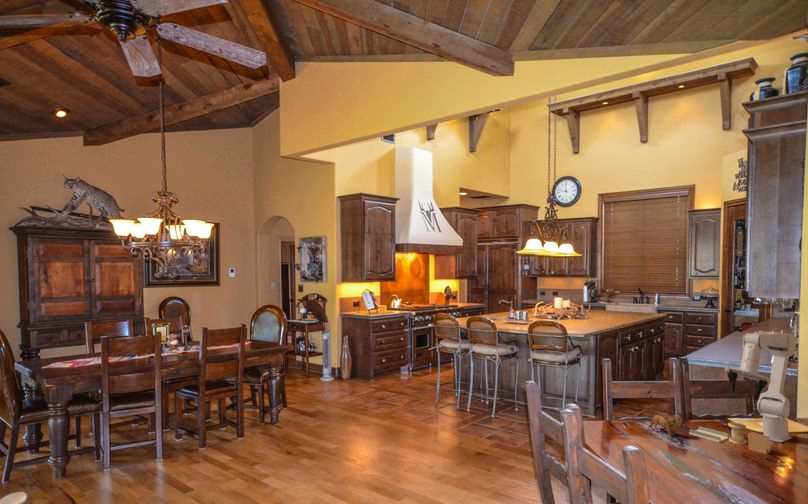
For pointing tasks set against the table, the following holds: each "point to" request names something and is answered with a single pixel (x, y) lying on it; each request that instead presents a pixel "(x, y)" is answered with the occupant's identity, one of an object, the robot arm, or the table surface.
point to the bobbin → (737, 433)
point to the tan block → (759, 442)
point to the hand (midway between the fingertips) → (743, 395)
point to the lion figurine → (667, 423)
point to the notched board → (710, 434)
